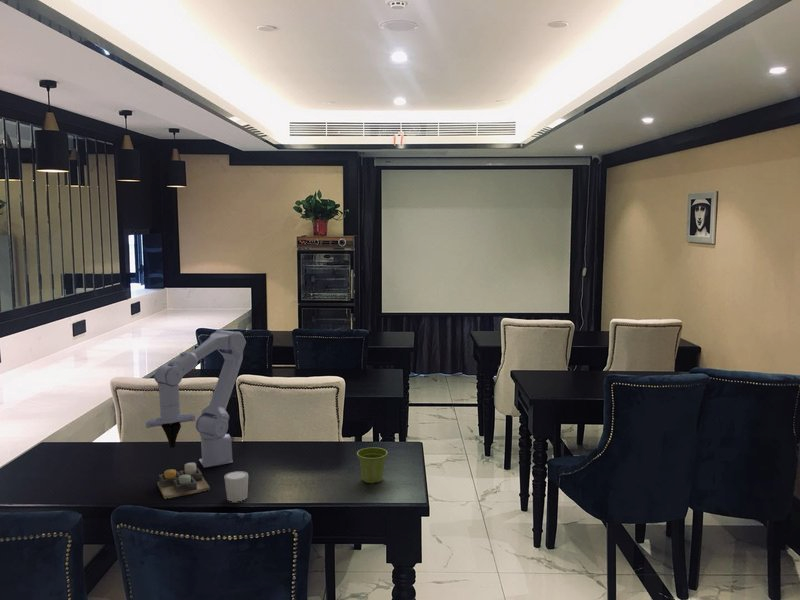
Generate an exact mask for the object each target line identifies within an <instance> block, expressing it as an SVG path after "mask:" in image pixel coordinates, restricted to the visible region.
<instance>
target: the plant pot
mask: <svg viewBox="0 0 800 600" xmlns="http://www.w3.org/2000/svg"><path fill="white" fill-rule="evenodd" d="M356 456H357V457H358V460H359V464H360V465H359V466H360V471H361V478H362V481H363V482H364V483H367V484H368V483H369V484H374V483H380V482H382V481H383V477H384V468H385V463H386V459H387V456H388V450H386V449H384V448H382V447H366V448H361V449H359V450H358V451H357V452H356Z"/></svg>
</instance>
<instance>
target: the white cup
mask: <svg viewBox="0 0 800 600" xmlns="http://www.w3.org/2000/svg"><path fill="white" fill-rule="evenodd" d="M223 476H224V477H223V478H224V484H225V492H226V499H227V501H228V500H229V501H232V502H231V503H238V502H237V501H241V502H243V501H242V500H244V501H246V500H247V499H248V490H249V489H248V488H249V487H248V486H249V473H248V472H247V471H243V470H241V471H240V470H236V471H231V472H227V473H226V474H224V475H223ZM246 498H247V499H246ZM245 499H246V500H245ZM229 501H228V502H229Z"/></svg>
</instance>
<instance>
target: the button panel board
mask: <svg viewBox="0 0 800 600" xmlns="http://www.w3.org/2000/svg"><path fill="white" fill-rule="evenodd" d="M196 471H197V474H193V475H191V483H188V484H182V485H179V476H181V475H185V469H184V470H180V471H176V478H171V479H166V480H165V476H164V473H162V474H158V477H159V481H157V483H156V484H157V487H158V490H159V491H160V493H161V495H162V498H163V499H164V500H167V498H168V499H172V498H177V497H182V496H188V495H192V494H197V493H202V491H203V492H208V491H211V487H210V485H209V484H208V482H207V481H206V480H205V478H204V476H203V473H202V471H201V470H200V468H199V467H196ZM207 490H208V491H207Z"/></svg>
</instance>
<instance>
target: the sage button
mask: <svg viewBox="0 0 800 600" xmlns="http://www.w3.org/2000/svg"><path fill="white" fill-rule="evenodd" d="M188 483H191V475H188V474H185V475H181V476H179V485H182V484H188Z"/></svg>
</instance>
